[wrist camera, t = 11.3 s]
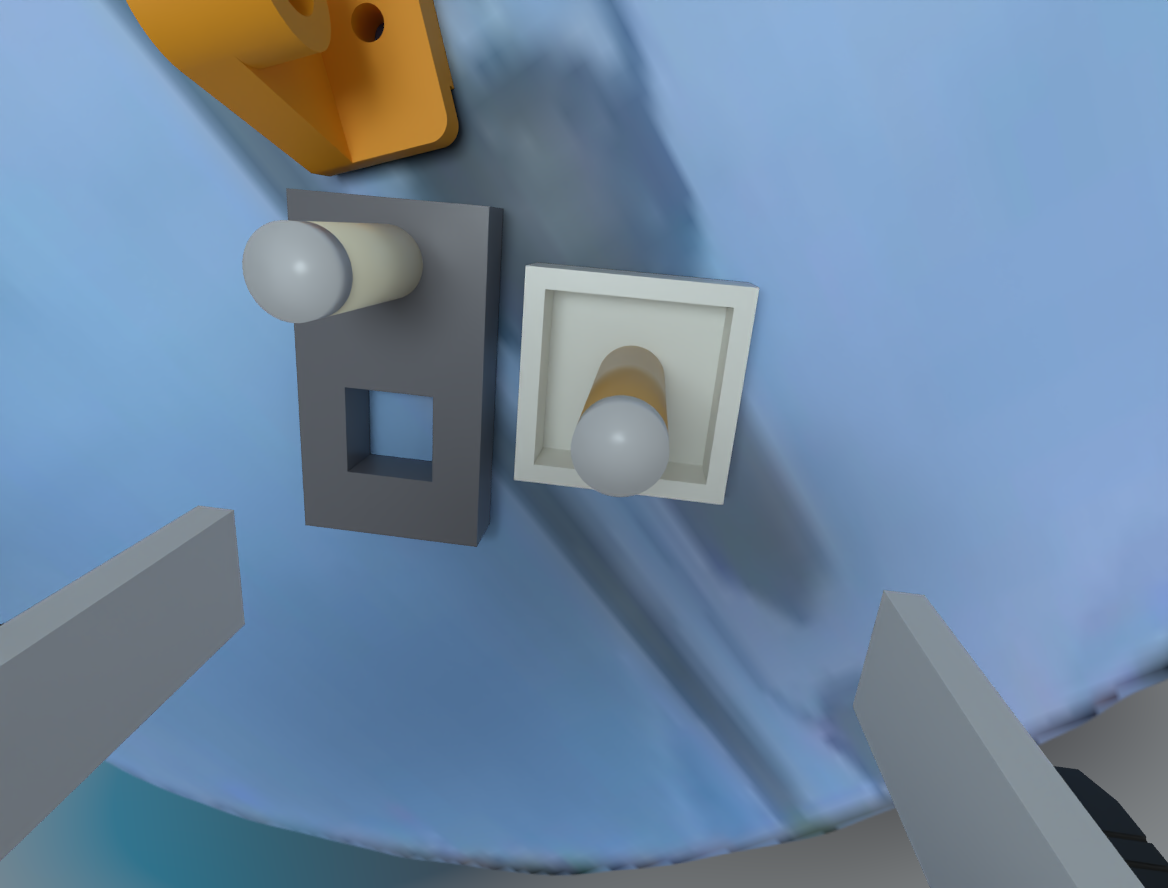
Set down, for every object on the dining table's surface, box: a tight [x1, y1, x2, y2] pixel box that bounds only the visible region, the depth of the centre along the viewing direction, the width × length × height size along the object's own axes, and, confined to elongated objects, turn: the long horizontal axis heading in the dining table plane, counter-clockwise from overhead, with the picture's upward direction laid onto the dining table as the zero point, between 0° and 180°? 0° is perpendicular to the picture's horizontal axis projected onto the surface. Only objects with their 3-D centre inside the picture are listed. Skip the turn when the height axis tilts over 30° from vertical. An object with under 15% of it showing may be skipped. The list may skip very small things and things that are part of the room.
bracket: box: [126, 0, 459, 176], centre depth 26 cm, size 11×7×12 cm, turn 12°
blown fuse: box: [571, 346, 669, 497], centre depth 29 cm, size 4×4×12 cm
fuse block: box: [242, 188, 503, 547], centre depth 31 cm, size 18×10×12 cm, turn 175°
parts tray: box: [514, 262, 759, 505], centre depth 34 cm, size 11×11×4 cm
